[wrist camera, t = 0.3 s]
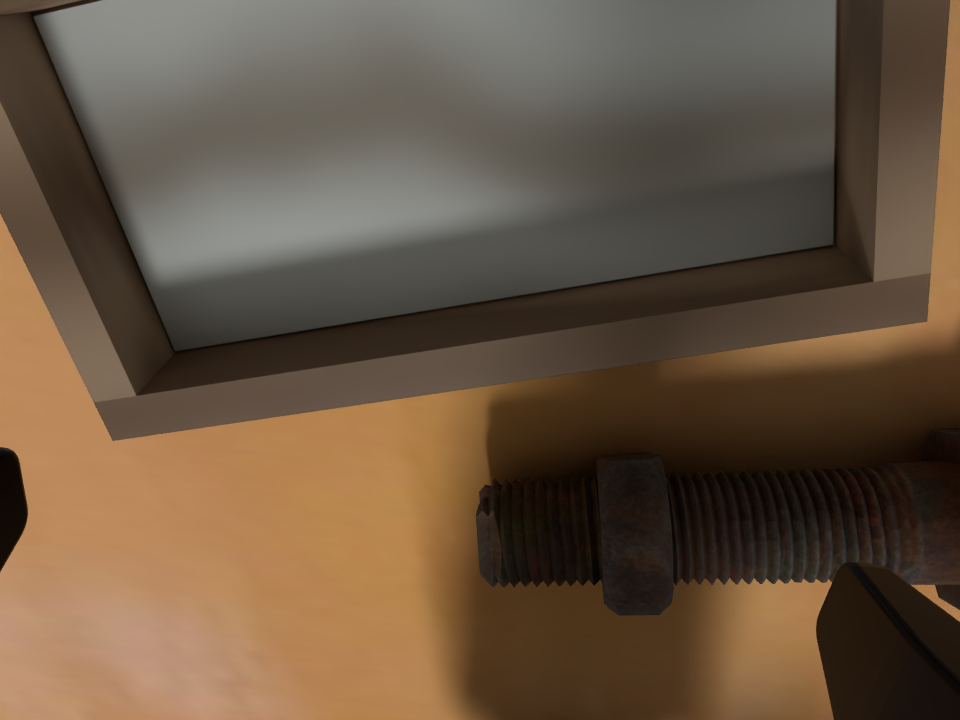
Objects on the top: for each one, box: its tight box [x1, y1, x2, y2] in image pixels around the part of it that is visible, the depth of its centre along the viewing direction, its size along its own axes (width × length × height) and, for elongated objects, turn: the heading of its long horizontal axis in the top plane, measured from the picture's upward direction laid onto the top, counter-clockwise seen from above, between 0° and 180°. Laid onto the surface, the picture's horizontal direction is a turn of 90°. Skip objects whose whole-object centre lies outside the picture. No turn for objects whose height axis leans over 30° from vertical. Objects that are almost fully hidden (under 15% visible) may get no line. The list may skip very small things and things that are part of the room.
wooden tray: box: [0, 0, 950, 441], centre depth 18 cm, size 11×20×4 cm, turn 101°
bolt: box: [476, 428, 960, 615], centre depth 22 cm, size 6×5×15 cm
